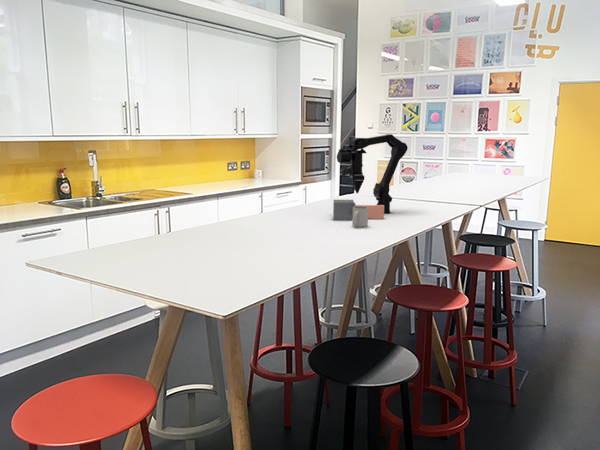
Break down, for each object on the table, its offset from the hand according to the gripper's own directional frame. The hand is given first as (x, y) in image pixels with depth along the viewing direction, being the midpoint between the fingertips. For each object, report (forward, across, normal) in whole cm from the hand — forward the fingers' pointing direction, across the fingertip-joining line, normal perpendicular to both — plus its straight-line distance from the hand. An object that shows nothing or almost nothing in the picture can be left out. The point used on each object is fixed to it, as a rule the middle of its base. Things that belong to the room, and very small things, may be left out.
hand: (356, 191), depth 267 cm
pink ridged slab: (+12, +12, +4) cm, 18 cm away
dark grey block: (+12, +12, -8) cm, 18 cm away
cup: (+12, +32, -2) cm, 34 cm away
